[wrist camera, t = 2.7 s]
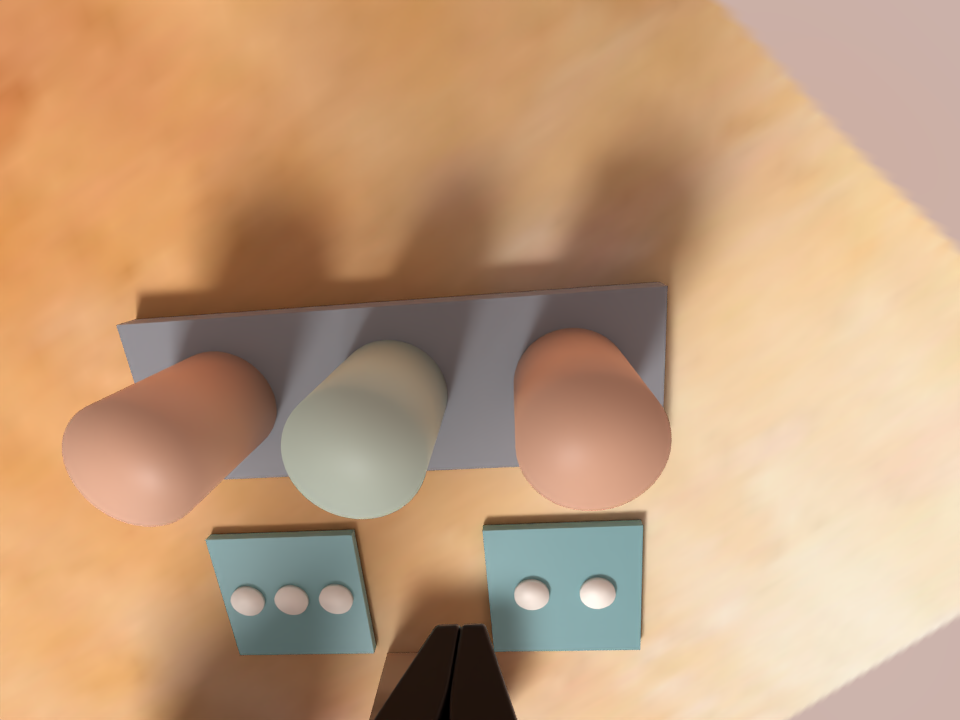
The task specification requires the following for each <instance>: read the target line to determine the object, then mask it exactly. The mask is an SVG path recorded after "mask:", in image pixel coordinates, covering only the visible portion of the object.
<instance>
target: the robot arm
mask: <svg viewBox="0 0 960 720" xmlns="http://www.w3.org/2000/svg"><path fill="white" fill-rule="evenodd" d="M374 720H517V718H516V715H515V712H514V709H513V706H512V703H511V700H510V697H509V694H508V691H507V688H506V685H505V682H504V679H503V676H502V673H501V670H500V667H499V664H498V661H497V658H496V655H495V652H494V649H493V646H492V643H491V640H490V637H489V634H488V631H487V628H486V626H485V625H484V624H464V625H462V627H460V626H459V625H458V624H441V625H437V626H436V627H435V628H434V629H433V631H432V632H431V634H430V635H429V637H428V638H427V640H426V641H425V643H424V644H423V646H422V647H421V649H420V650H419V652H418V653H417V655H416V656H415V658H414V659H413V661H412V662H411V664H410V665H409V667H408V668H407V670H406V671H405V673H404V674H403V676H402V678H401V679H400V681H399V682H398V684H397V685H396V687H395V688H394V690H393V691H392V693H391V694H390V696H389V697H388V699H387V700H386V702H385V703H384V705H383V706H382V708H381V709H380V711H379V712H378V714H377V715H376V717H375V718H374Z"/></svg>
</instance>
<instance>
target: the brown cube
mask: <svg viewBox="0 0 960 720" xmlns="http://www.w3.org/2000/svg"><path fill="white" fill-rule="evenodd" d="M416 655H417V653H387V657H386V660H385V664H384V668H383V671H382V675H381V679H380V682H379V686H378V690H377V694H376V697H375V701H374V705H373V708H372V712H371V716H370V719H369V720H374V718H375V717H376V715H377V714H378V712H379V711H380V709H381V708H382V706H383V705H384V703H385V702H386V700H387V699H388V697H389V696H390V694H391V693H392V691H393V690H394V688H395V687H396V685H397V684H398V682H399V681H400V679H401V678H402V676H403V674H404V673H405V671H406V670H407V668H408V667H409V665H410V664H411V662H412V661H413V659H414V658H415V656H416Z"/></svg>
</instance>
